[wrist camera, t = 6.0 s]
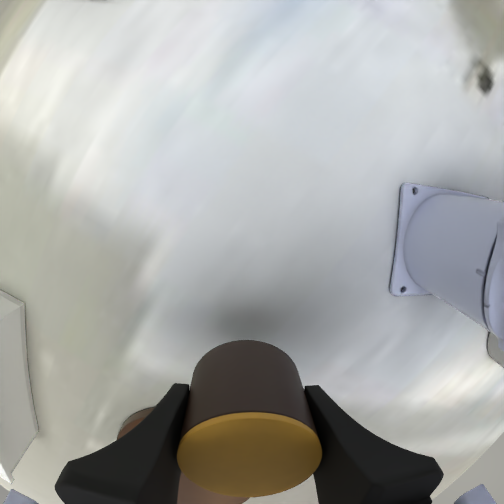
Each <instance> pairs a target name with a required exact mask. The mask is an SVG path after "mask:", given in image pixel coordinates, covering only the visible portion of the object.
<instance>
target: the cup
mask: <svg viewBox="0 0 504 504" xmlns="http://www.w3.org/2000/svg"><path fill="white" fill-rule="evenodd" d="M488 351H489V355H490V356H491V357H492V358H493V359H494V360H495V361H496V362H497V363H498V364H499V365H501V366H502V367H503V368H504V351H502V350H501V349H500V348H498V339H497V337H496V336H495V335H494V334H493V333H491V332H490V333H489V337H488Z"/></svg>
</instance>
